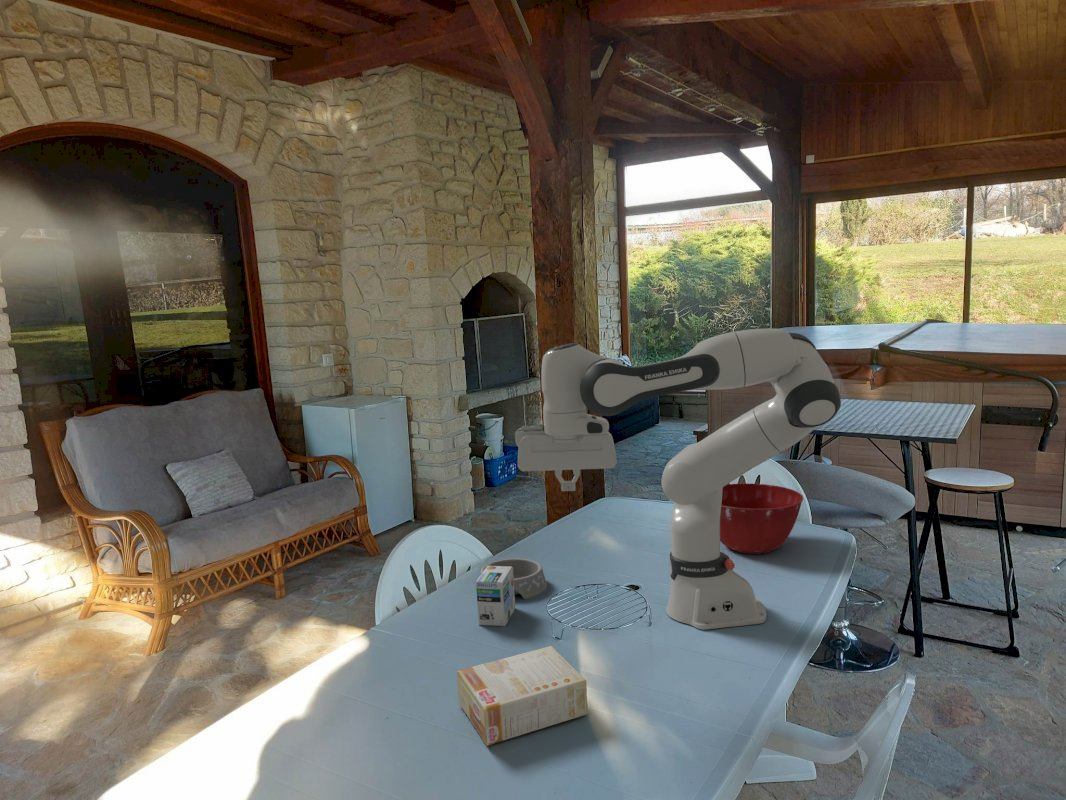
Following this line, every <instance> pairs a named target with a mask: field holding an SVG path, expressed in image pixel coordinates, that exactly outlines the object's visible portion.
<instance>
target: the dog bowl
mask: <svg viewBox="0 0 1066 800" xmlns="http://www.w3.org/2000/svg"><path fill="white" fill-rule="evenodd" d="M487 566H509V567H513V577H514V595H520V596H521V597H522V599H524V600H528V599H531V598H534V597H536V596H538V595H540V594H542V593H543V592H544V591H546V589H547V587H548V584H547V580H546V578H545V574H544V570H543V567H542V565H541V564H540V563H539V562H537V561H535V560H532V559H528V558H517V557H516V558H504V559H499V560H495V561H492V562H489V563H487V564H485V565H484V566H483V567H481V569H480V573H479V576H480V575H481V574H482V573H483V571H484V570H485V568H486V567H487Z"/></svg>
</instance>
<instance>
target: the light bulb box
mask: <svg viewBox="0 0 1066 800" xmlns="http://www.w3.org/2000/svg"><path fill="white" fill-rule="evenodd" d="M475 587H476V589H475V590H476V600H477V601H476V602H477V603H476V605H477V614H478V615H477V617H478V618H477V619H478V626H494V627H495V626H496V627H497V626H498V627H506V626H507V624H508V622H509V620H510V619H511V617H512V615H513V613H514V612H515V609H516V596H515V595H516V594H515V595H514V577H513V567H509V566H487V567H486V568H485V570H484V571H483V573H482V574H481V575H480V574H479V576H478V578H477V579H476V581H475Z"/></svg>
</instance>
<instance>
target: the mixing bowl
mask: <svg viewBox="0 0 1066 800" xmlns="http://www.w3.org/2000/svg"><path fill="white" fill-rule="evenodd" d="M803 501H804V496H803V495H802V494H801V493H800V492H799V491H797V490H794V489H791V488H789V487H788V488H787V487H785V486H779V485H773V484H764V483H762V484H761V483H729V484H727V485H725V486H724V487H723V492H722V504H721V514H720V543H721V544H722V545H724V546H725V547H727V548H728V549H729V550H732V551H734V552H737V553H740V554H749V555H752V554H753V555H754V554H755V555H757V554H767V553H771V552H772V551H774V550H775V549H778V548H779V547H781V546H782V545H783V544H784V543H785V542H786V540H788V538H789V536H790V534H791V533H792V530H793V528H794V526H795V524H796V522H797V519H798V516H799V513H800V509H801V505H802V502H803Z"/></svg>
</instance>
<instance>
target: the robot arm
mask: <svg viewBox="0 0 1066 800" xmlns="http://www.w3.org/2000/svg"><path fill="white" fill-rule="evenodd" d="M819 353H820V352H819ZM819 353H818V351H817V347H816V345H815V344H814V343H813V342H812V341H811V340H810V338H808V337H807V336H806V335H803V334H800V333H797V332H796V333H795V332H787V331H786V330H784V329H781V328H770V327H769V328H768V327H767V328H751V329H742V330H736V331H730V332H725V333H721V334H717V335H714V336H712V337H708V338H705V339H703V340H701V341H699V342H698V343H696V345H694V347H693V348H692V349H691V350H690V351H688V352H686V353H685V354H684V355H681V356H679V357H676V358H671V359H669V360H662V361H659V362H653V363H649V364H644V365H638V366H627V365H626V366H625V365H624V364H623V362H621V361H619V360H617V359H616V358H610V357H607V356H603V355H600V354H597V353H595V352H592V351H590V350H589V349H587V348H585V347H584V346H582V345H581V344H579V343H576V342H575V343H573V342H572V343H565V344H560V345H557V346H554V347H552V348H549V349H548V350H546V351H545V353H544V354H543V356H542V360H541V372H540V373H541V380H540V381H541V391H542V395H543V399H544V400H543V401H544V402H543V407H542V415H543V417H542V418H543V424H538V425H537V424H536V425H535V424H534V425H522V426H521V427H520V428H518V429H517V430H516V431H515V433H514V439H515V440H514V441H515V444H516V446H517V447H518V450H517V468H518V469H519V470H520V471H521V472H545V471H548V472H549V471H554V476H555V478H556V479H557V481H558V482H559V483H560V490H561V492H575V491H576V483H577V481H578V479H579V477H580V475H581V470H600V469H601V470H603V469H614V468H615V467H616V466H617V463H618V462H617V453H616V447H615V442H614V438H613V436H612V433H610V431H609V429H610V424H609V421H608V419H606V418H604V417H613V416H616V415H618V414H619V415H620V414H621V413H623V412H624V411H626V410H628V409H629V408H630V407H632V406H634V405H635V404H638V402H641V401H644V400H648V399H653V398H657V397H662V396H666V395H671V394H676V393H681V392H686V391H707V390H708V391H711V390H712V391H714V390H715V391H716V390H718V391H719V390H720V391H721V390H730V389H732V390H733V389H738V388H743V387H745V388H746V387H751V386H753V385H758V384H762V383H765V382H766V383H771V385H772V387H773V390H774V392H775V393H776V394H775V396H774V397H773V398H771V399H768V400H766V401H764V402H763V403H760V404H758V405H757V406H754V408H751V409H750V410H748V411H746V412H745V413H743V414H741V415H739V416H738V417H737V418H735V419H732V420H731V421H730V422H728V423H726V424H724V425H723V426H721V427H720V428H718V429H717V430H715V431H714V432H712V433H711V434H709V435H707V436H706V437H704V438H703V439H702V440H700V441H698V442H695V443H691V444H688V445H687V446H685V447H684V448H683V449H681V450H680V451H679V452H678V453H676V455H674V456H673V457H672V458H671V459H670V460H669V461H668V462H667V463H666V465H665V467H664V468H663V469H664V470H663V472H662V476H661V483H660V484H661V488H662V491H663V493H664V494H665V496H666V497H667V498H668V499H669V500H670V501H671V502H672V503H673V507H672V513H671V518H670V542H671V543H670V544H671V545H670V546H671V547H670V549H671V551H670V552H669V558H668V559H669V561H668V562H669V563H668V564H669V565H668V566H669V575H670V576H669V577H670V578H671V579H670V580H671V581H670V588H669V589H670V590H669V596H668V601H667V605H666V608H665V612H666V614H667V615H668V616H669V617H670V618H671V619H672V620H675V621H677V622H680V623H683V624H687V625H690V626H693V627H694V628H696V629H698V630H703V631H704V630H712V629H724V628H732V627H741V626H751V625H758V624H759V625H761V624H764V623H765V622H766V620H767V618H768V617H767V611H766V610H767V609H766V608H765V606H764V604H763V603H762V601H760V600H759V599H758V598H757V597H756V595H755V592H754V589H753V586H751V583H750V582H748V581H747V579H745V578H744V577H742V576H741V575H740V574H738V573H737V572H736V571H734V569H735V567H736V566H735V563H734V561H733V560H732V559H730V556H729V555H727V554H726V553H725V551H721V541H720V514H721V504H722V492H723V487H724V486H725V485H727V484H731V483H732V482H734V481H735V480H736V479H738V478H739V477H741V476H742V475H744V474H745V473H747V472H748V471H751V470H752V469H753V468H755V467H758V466H759V465H761V464H762V463H765V462H766V461H768V460H770V459H772V458H774V457H775V456H777V455H780V454H781V453H782V452H784V451H787V449H790V448H791V447H792V446H794V445H796V444H797V443H799V442H801V440H803V439H804V438H805V437H806V436H808V435H809V434H810V433H811V432H813V431H815V429H816V428H817V427H819V426H823V425H825V424H827V423H829V422H830V421H831V420H832V419H833V418H834V417H835V416H836V414H837V413H838V412H839V410H840V409H841V406H842V400H841V395H840V391H839V388H838V386H837V385H836V384H835V383H836V382H835V381H834V377H833V375H832V373H831V370H830V368H829V367H828V365H827V363H826V362H825V361H824V359H823V358H822V356H821V355H820V354H819ZM587 409H588V410H589V411H591V412H592V413H594V414H595V415H592V414H590V413H589V414H588V413H587ZM597 415H598V416H597ZM601 416H602V417H601ZM569 470H570V471H572V472H573V475H574V476H573V478H572V480H565V479H564V478H563V477H562V474H563V471H569Z"/></svg>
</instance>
